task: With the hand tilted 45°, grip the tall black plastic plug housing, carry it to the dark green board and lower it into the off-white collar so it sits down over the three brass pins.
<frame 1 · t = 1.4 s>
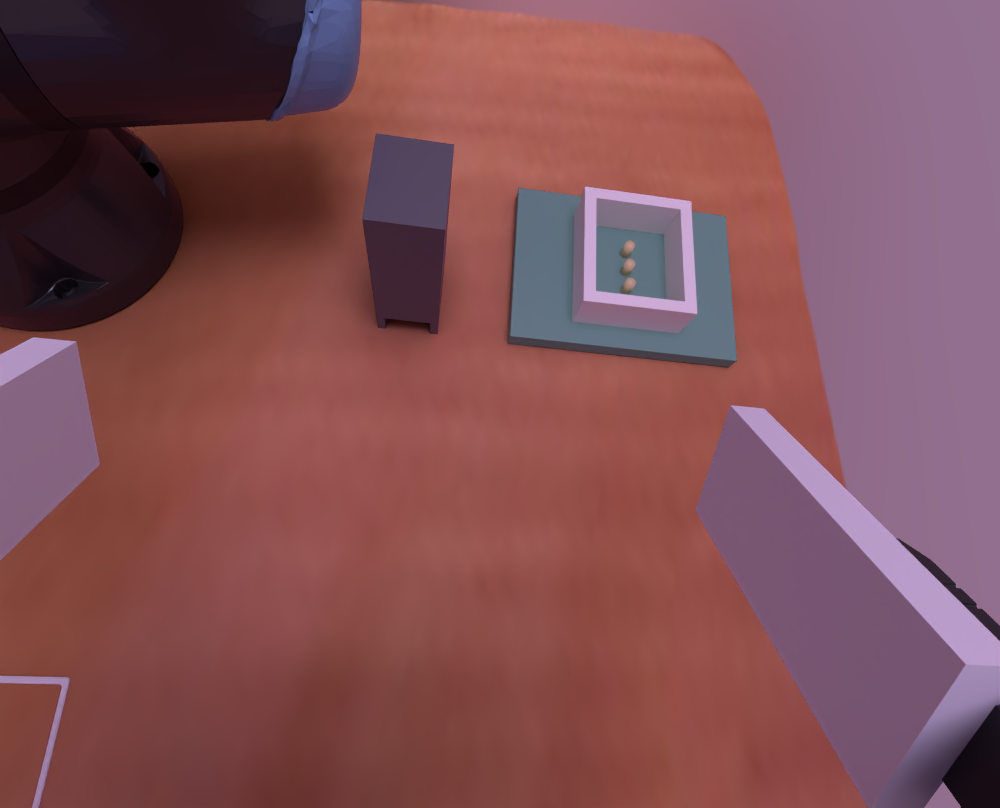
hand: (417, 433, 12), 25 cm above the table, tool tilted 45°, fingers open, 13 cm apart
plug housing: (411, 296, 41), on the table
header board: (619, 280, 44), on the table
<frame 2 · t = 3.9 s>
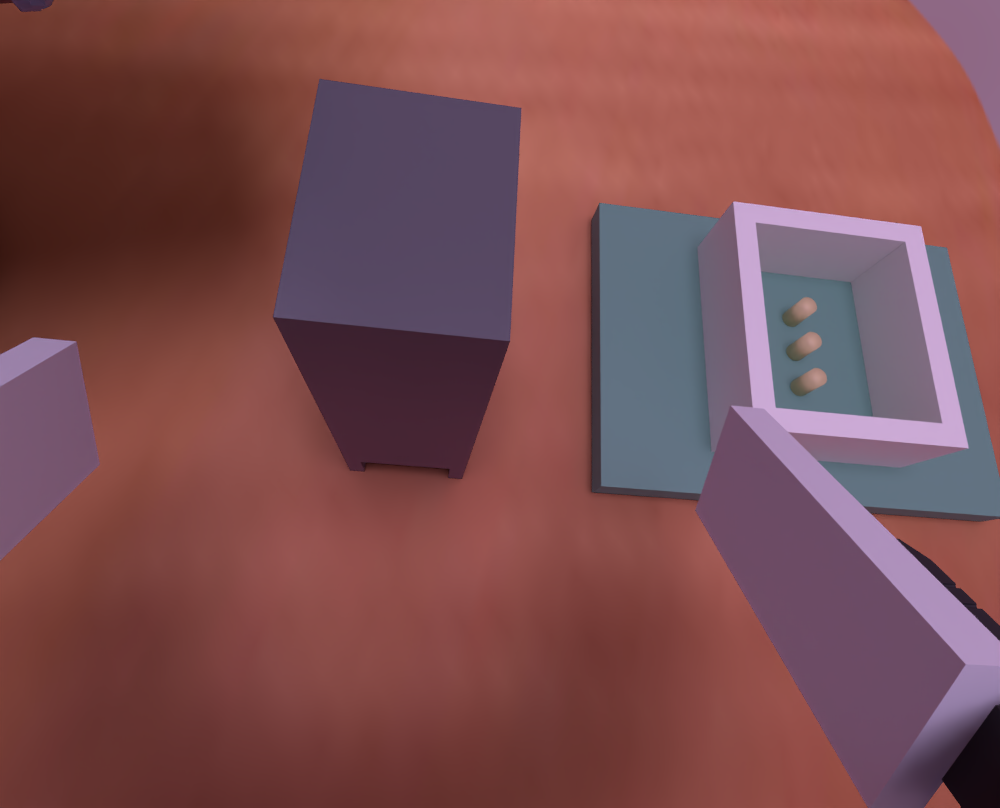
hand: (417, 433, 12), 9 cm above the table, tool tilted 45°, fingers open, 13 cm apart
plug housing: (413, 406, 22), on the table
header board: (777, 364, 25), on the table
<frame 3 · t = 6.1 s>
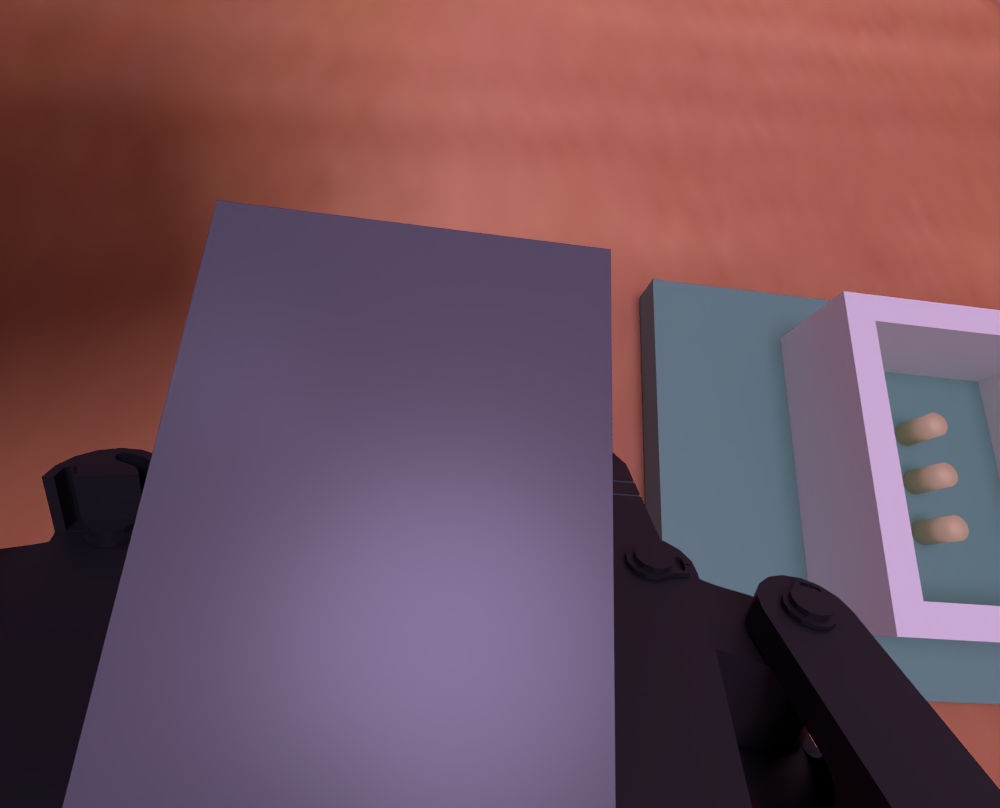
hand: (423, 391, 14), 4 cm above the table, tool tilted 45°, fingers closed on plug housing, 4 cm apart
plug housing: (409, 565, 16), on the table, touching gripper
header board: (884, 490, 19), on the table
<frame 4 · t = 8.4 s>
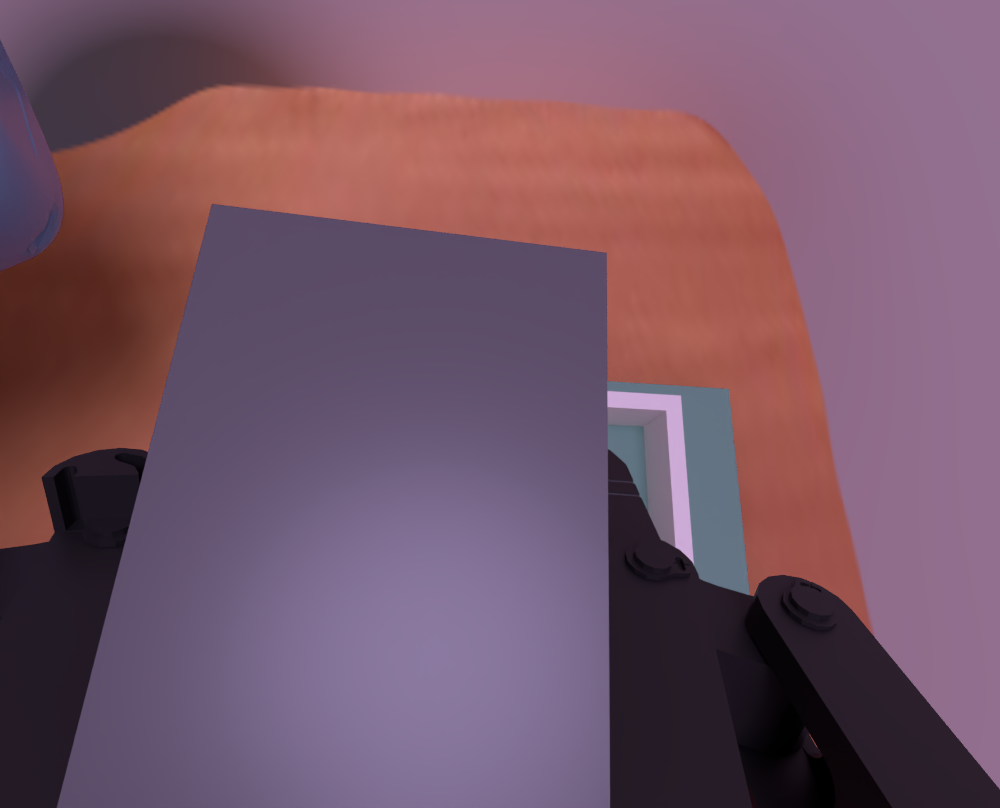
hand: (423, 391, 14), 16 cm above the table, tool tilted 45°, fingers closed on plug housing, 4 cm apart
plug housing: (407, 566, 16), point 13 cm above the table, touching gripper
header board: (583, 496, 31), on the table
when the fingers open (6 cm above the table, at t = 10.6 s): plug housing drops 1 cm, resting on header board.
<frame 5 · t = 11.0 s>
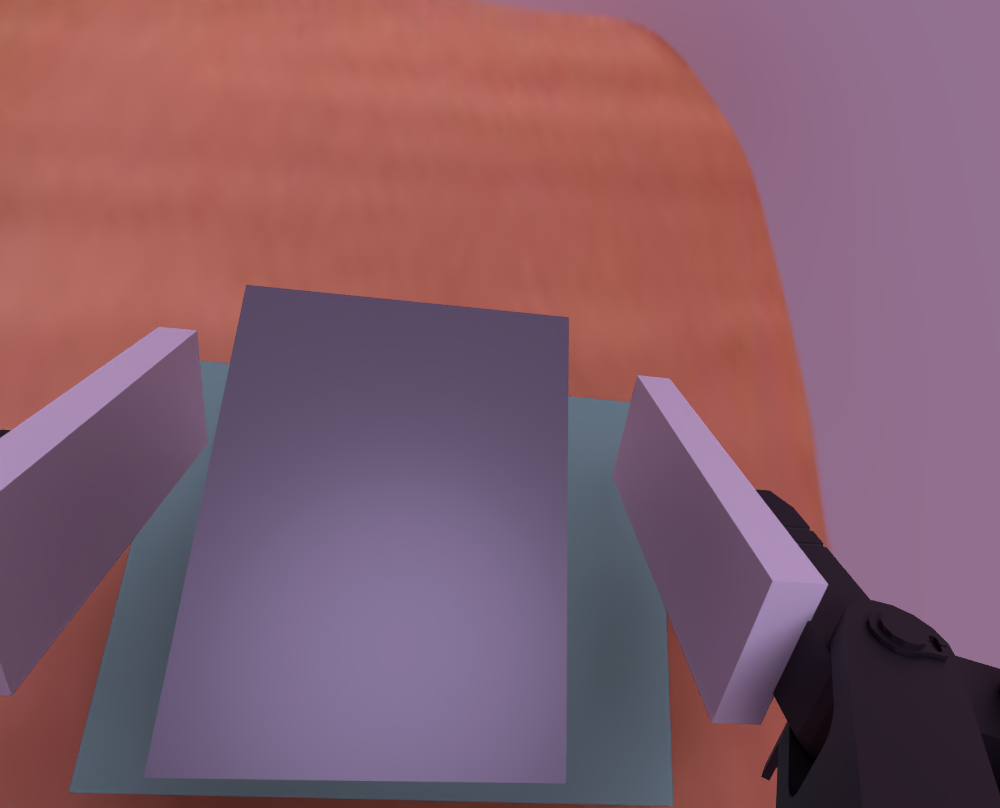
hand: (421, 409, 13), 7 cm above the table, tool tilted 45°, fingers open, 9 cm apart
plug housing: (407, 570, 18), point 1 cm above the table, touching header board
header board: (410, 570, 19), on the table
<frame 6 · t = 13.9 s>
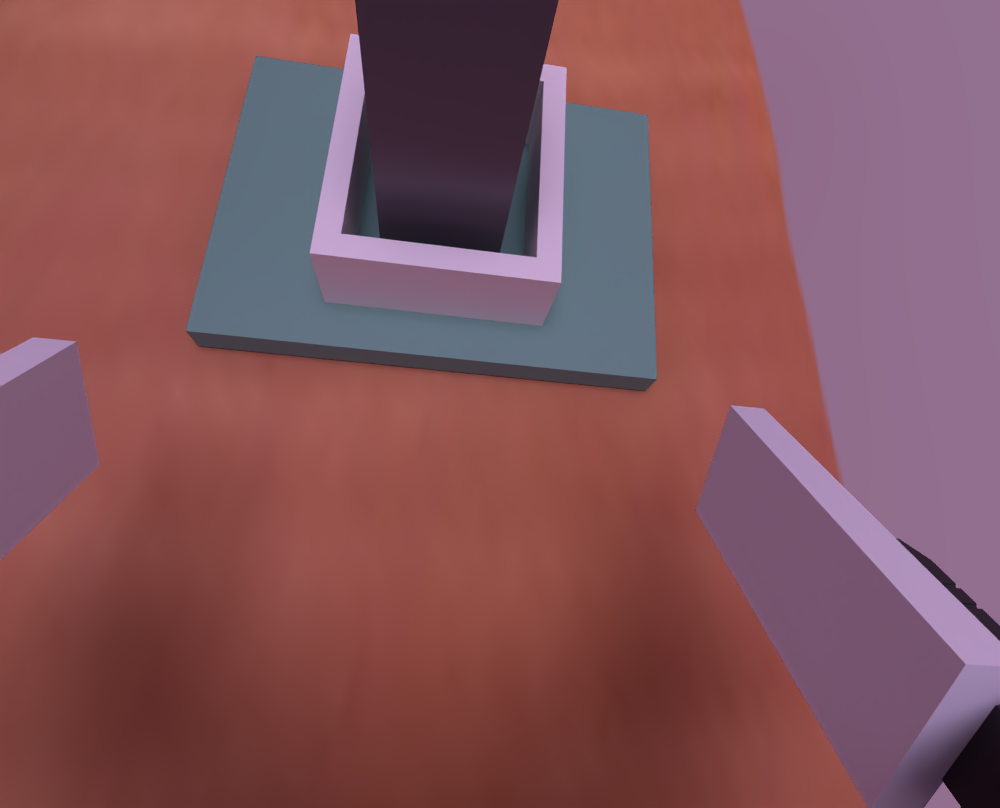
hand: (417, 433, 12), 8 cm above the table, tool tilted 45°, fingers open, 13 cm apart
plug housing: (444, 210, 22), point 1 cm above the table, touching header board
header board: (444, 228, 23), on the table
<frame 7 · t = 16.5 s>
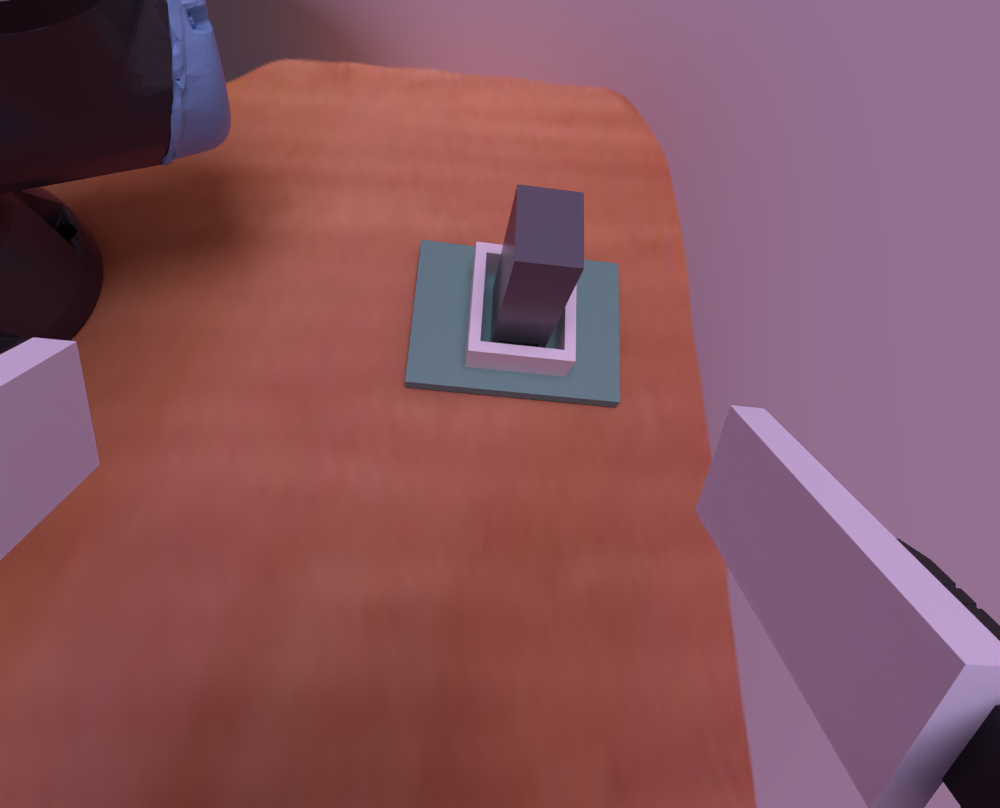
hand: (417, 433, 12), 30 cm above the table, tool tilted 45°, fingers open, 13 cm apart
plug housing: (517, 319, 46), point 1 cm above the table, touching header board
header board: (515, 325, 47), on the table
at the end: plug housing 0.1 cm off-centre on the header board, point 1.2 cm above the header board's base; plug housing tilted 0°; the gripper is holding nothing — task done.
